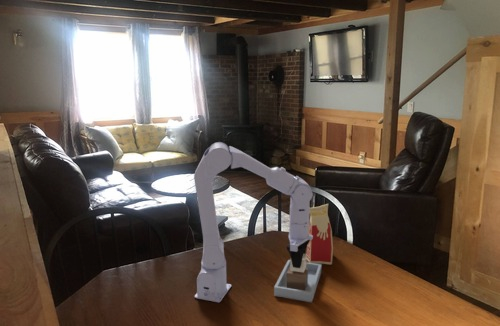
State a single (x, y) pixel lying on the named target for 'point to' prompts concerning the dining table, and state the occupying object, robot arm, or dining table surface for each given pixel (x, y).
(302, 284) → the walnut block
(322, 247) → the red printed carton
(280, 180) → the robot arm
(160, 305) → the dining table surface
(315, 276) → the tote
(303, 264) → the cream box
